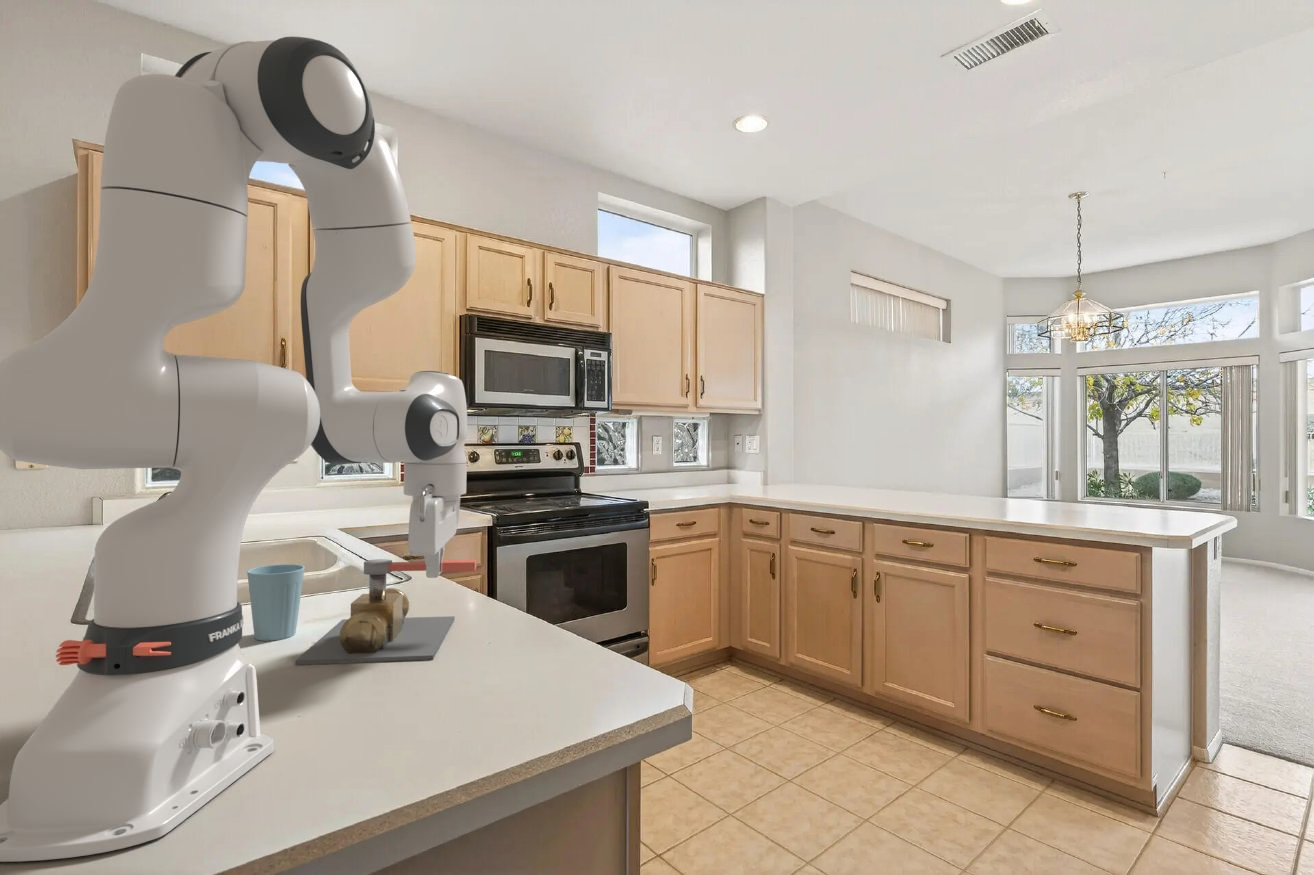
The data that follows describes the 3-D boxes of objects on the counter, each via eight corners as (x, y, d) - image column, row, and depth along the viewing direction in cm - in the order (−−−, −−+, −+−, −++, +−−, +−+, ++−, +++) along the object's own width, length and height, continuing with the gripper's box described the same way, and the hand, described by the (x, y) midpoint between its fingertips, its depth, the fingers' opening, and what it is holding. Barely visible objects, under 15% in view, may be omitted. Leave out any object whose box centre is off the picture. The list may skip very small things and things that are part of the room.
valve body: (384, 656, 93) (385, 585, 93) (339, 658, 92) (340, 586, 92) (409, 624, 108) (409, 563, 108) (370, 625, 107) (371, 564, 107)
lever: (360, 575, 98) (360, 564, 98) (367, 569, 102) (367, 559, 102) (473, 573, 100) (474, 562, 100) (477, 567, 104) (477, 557, 104)
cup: (306, 638, 100) (307, 570, 100) (247, 646, 96) (248, 576, 96) (300, 626, 107) (301, 562, 107) (245, 633, 102) (246, 567, 102)
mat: (432, 659, 92) (433, 655, 92) (295, 664, 89) (295, 660, 89) (454, 619, 111) (454, 616, 111) (342, 623, 109) (342, 619, 109)
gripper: (446, 488, 87) (444, 592, 87) (466, 478, 107) (464, 562, 107) (396, 488, 86) (395, 593, 86) (426, 478, 106) (424, 562, 106)
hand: (434, 575), depth 97 cm, fingers closed
